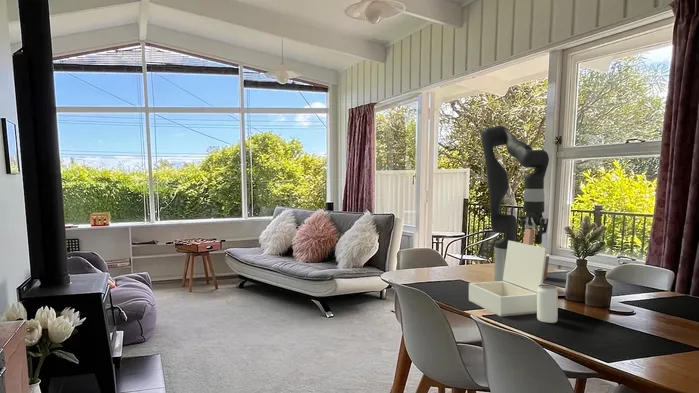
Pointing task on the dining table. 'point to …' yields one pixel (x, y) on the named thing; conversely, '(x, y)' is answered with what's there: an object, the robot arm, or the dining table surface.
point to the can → (547, 303)
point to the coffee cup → (546, 266)
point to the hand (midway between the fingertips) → (533, 242)
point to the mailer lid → (525, 262)
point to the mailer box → (503, 298)
